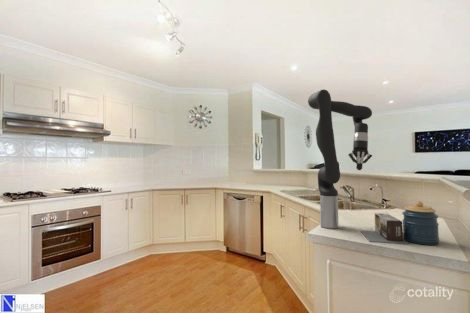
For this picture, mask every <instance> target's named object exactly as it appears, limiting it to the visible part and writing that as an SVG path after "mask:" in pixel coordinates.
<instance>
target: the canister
mask: <svg viewBox="0 0 470 313" xmlns="http://www.w3.org/2000/svg"><path fill="white" fill-rule="evenodd" d="M401 213H402V215H403V219H401V221H402V228H403V240H404V241H406V242H408V243H409V242H410V243H413V244H417V245H426V246H437V245H439V243H440V237H439V223H438V218H439V217H440V216H439V215H438V214H436V209H434V208H432V206H428V205H424V203H423V201H416V202H415V204H410V205H409V204H408V205H407V206H405V207H404V211H402V212H401Z"/></svg>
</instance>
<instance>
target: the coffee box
mask: <svg viewBox="0 0 470 313" xmlns="http://www.w3.org/2000/svg"><path fill="white" fill-rule="evenodd" d="M374 231H376V232H378V233H379V234H380V235H381V236H383V237H384V238H385V239H386V240H387V241H403V240H404V237H403V221H402V220H400V219H398V218H396V217H394V216H392V215H391V214H389V213H380V212H378V213H377V212H375V213H374Z"/></svg>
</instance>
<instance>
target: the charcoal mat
mask: <svg viewBox="0 0 470 313" xmlns="http://www.w3.org/2000/svg"><path fill="white" fill-rule="evenodd" d="M360 232H361V233H362V235H363V236H364V237H365V238H366V240H368V241H369V242H370V243H381V244H397V245H409V242H408V241H407V240H405V239H403V241H387V240H386V239H385V238H384V237H383V236H381V235H380V234H379V233H378V232H376V231H375V230H362V229H361V230H360Z"/></svg>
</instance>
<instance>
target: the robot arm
mask: <svg viewBox="0 0 470 313" xmlns="http://www.w3.org/2000/svg"><path fill="white" fill-rule="evenodd" d="M307 104H308V106H309V107H310V108H311V109H313V110H319V111H318V112H319V116H318V117H319V118H318V123H317V125H316V129H315V139H316V144H317V147H318V149H319V151H320V153H321V155H322V157H323V158H322V159H323V161H324V162H323V163H324V166H322V167H320V168H319V170H318V173H317V186H318V191H319V199H320V200H319V206H320V207H319V216H320V217H319V220H320V221H319V222H320V227H321V228H325V229H338V228H339V193H338V189H336V187H335V186H334V184H337V183H338V182H339V181H340V180H341V170H340V166H339V162H338V158H337V151H336V143H335V142H336V141H335V134H334V128H333V127H334V126H333V118H332V117H333V116H332V112H333V113H336V114H340V115H343V116H347V117H351V118H352V120H353V125H354V134H353V146H352V148H353V149H352V151H351V152H350V153H348V157H349V158H350V159H351V160H352V163H354V164H356V170H357V171H362V169H363V164H366V163H367V162H368V161H369V160H370V159H371V158H372V157H373V154H370V153H369V150H368V147H369V145H368V144H369V136H368V134H369V125H368V123H366V122H363V121H364V120H367V119H370V118H371V117H372V115H373V112H372V109H371V108H370V107H369V106H366V105H365V106H364V105H356V104H353V103H349V102H346V101H338V100H337V101H336V100H332V97H331V94H330V92H329V91H328V90H327V89H320V90H318V91H316V92H313V93H311V95H310V96H309V97H308V98H307ZM365 157H366V158H365ZM364 158H365V159H364Z"/></svg>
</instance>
